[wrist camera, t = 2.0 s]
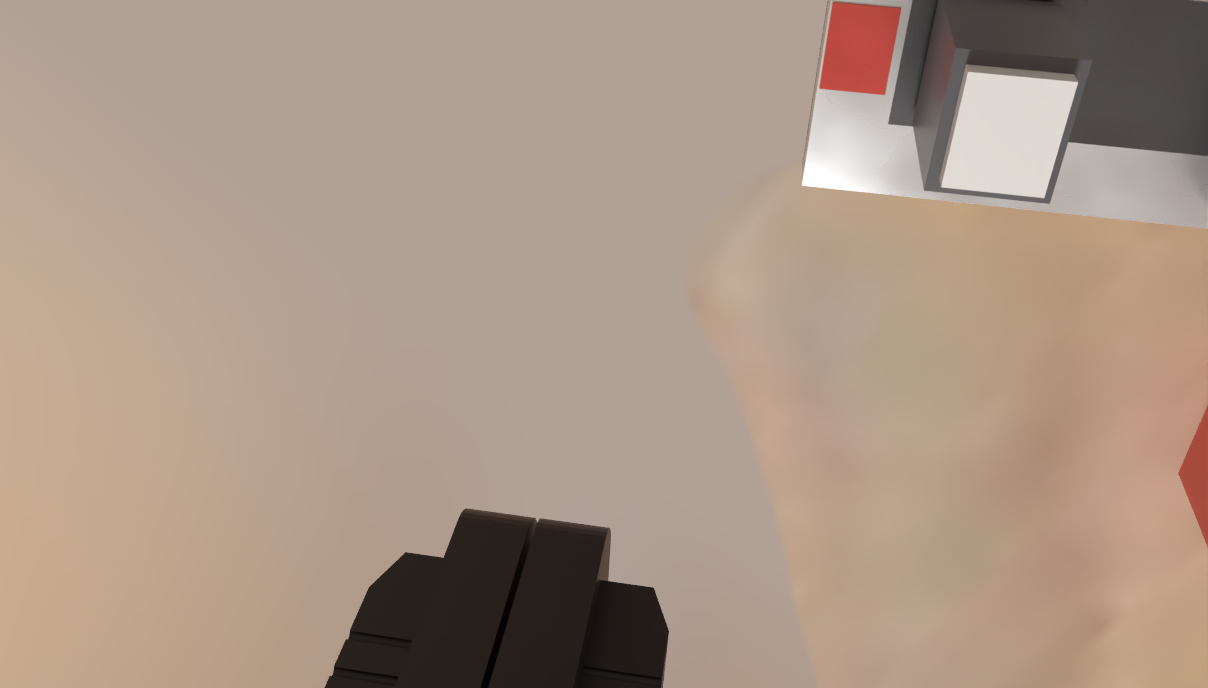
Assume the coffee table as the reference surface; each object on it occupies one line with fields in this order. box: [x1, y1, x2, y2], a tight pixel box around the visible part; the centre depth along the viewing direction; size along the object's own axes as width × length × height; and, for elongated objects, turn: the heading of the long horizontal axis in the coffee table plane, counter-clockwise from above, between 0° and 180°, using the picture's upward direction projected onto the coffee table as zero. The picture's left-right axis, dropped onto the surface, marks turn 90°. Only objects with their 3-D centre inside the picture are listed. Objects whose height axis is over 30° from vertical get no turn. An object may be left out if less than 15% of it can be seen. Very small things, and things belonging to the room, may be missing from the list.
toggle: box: [912, 0, 1092, 204], centre depth 23 cm, size 2×3×4 cm
